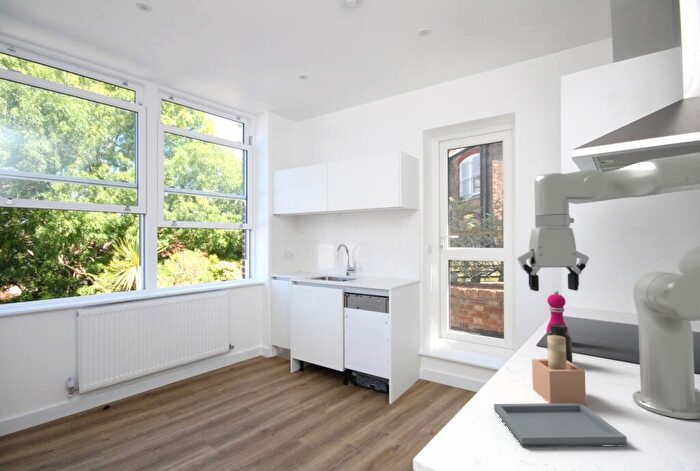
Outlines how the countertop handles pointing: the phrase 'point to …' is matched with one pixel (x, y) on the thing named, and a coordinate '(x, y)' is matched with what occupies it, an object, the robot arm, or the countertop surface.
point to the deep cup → (559, 382)
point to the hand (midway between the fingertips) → (553, 290)
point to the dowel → (556, 352)
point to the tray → (558, 425)
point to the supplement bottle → (562, 331)
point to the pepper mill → (556, 309)
